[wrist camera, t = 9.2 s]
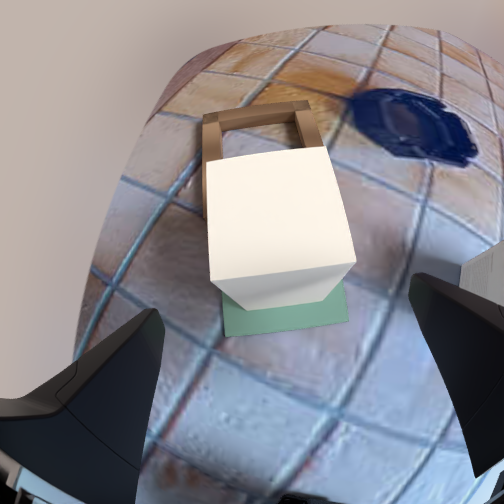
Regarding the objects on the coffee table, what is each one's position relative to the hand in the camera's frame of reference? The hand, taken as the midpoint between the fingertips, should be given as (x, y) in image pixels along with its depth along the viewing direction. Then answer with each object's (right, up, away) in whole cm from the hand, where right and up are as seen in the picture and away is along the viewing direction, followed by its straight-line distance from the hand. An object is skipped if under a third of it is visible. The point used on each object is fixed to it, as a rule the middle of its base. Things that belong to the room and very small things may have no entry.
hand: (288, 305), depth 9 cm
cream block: (+1, 0, +11) cm, 12 cm away
